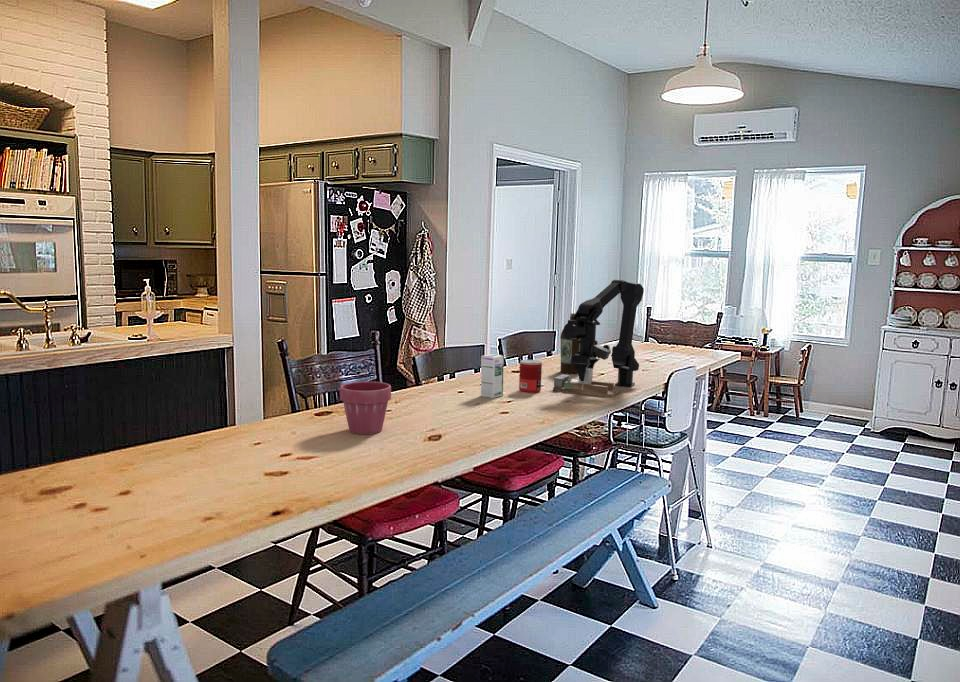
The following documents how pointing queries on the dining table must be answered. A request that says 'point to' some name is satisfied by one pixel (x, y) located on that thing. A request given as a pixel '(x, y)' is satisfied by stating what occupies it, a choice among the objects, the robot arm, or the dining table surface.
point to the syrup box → (492, 375)
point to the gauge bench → (584, 387)
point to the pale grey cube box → (587, 377)
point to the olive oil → (568, 352)
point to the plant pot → (365, 405)
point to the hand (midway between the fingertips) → (585, 379)
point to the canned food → (530, 376)
